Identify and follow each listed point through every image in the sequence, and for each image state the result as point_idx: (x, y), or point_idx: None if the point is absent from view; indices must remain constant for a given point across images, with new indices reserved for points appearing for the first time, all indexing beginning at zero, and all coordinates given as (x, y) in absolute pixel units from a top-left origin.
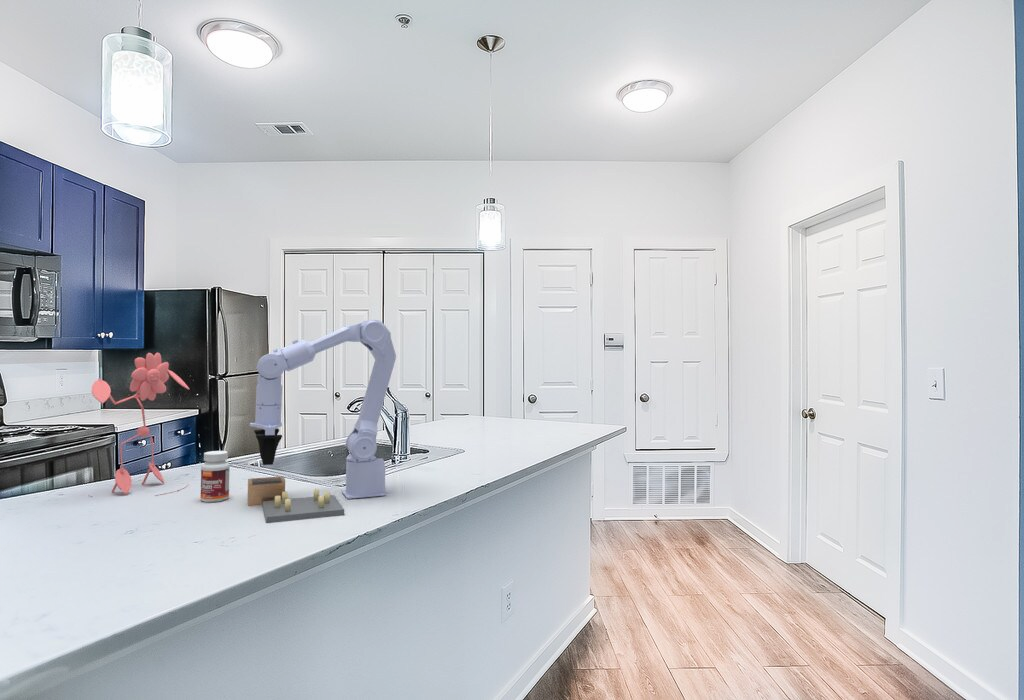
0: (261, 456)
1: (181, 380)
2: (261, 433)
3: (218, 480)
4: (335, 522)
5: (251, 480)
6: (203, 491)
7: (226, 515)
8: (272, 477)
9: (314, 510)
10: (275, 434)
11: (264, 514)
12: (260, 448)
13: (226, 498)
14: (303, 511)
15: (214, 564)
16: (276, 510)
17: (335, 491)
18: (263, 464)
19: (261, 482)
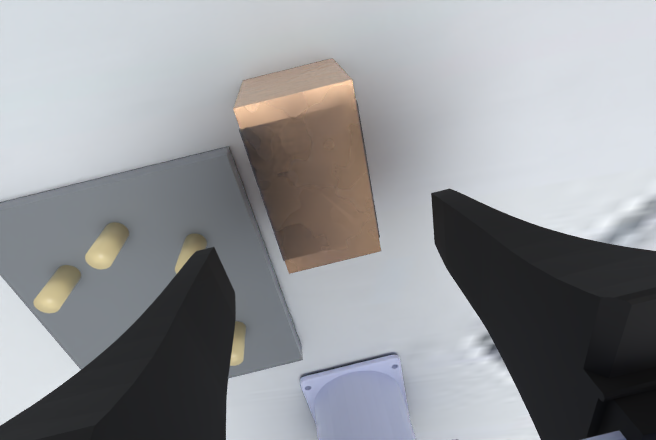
0: (184, 280)
1: None
2: (569, 345)
3: None
4: (31, 385)
5: (299, 112)
6: None
7: (59, 8)
8: (363, 207)
9: (89, 344)
10: (542, 424)
11: (90, 180)
12: (122, 338)
13: None
14: (68, 319)
15: None
16: (68, 237)
17: (417, 334)
18: (194, 254)
19: (256, 174)
